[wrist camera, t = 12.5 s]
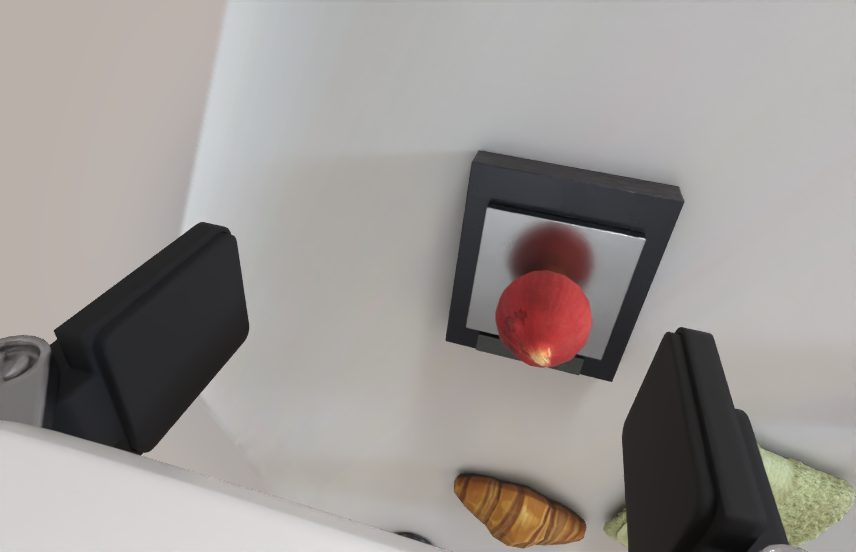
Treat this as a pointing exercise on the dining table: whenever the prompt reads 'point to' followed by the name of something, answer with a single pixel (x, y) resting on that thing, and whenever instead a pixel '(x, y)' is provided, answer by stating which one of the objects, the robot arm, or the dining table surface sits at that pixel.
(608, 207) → the scale
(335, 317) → the dining table surface
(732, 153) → the dining table surface
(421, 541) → the pill bottle
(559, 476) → the dining table surface
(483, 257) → the scale pan
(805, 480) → the washcloth
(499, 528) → the croissant
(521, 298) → the onion
